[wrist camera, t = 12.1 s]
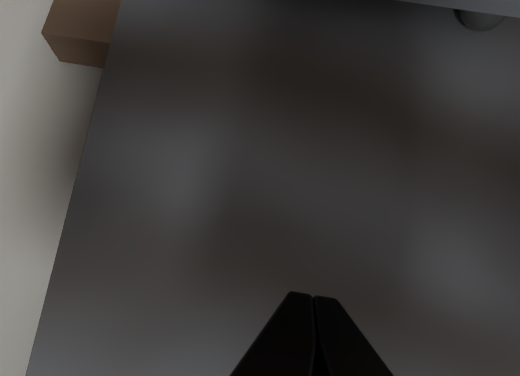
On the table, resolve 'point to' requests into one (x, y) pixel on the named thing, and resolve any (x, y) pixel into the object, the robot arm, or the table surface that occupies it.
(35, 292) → the table surface
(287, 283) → the dock
